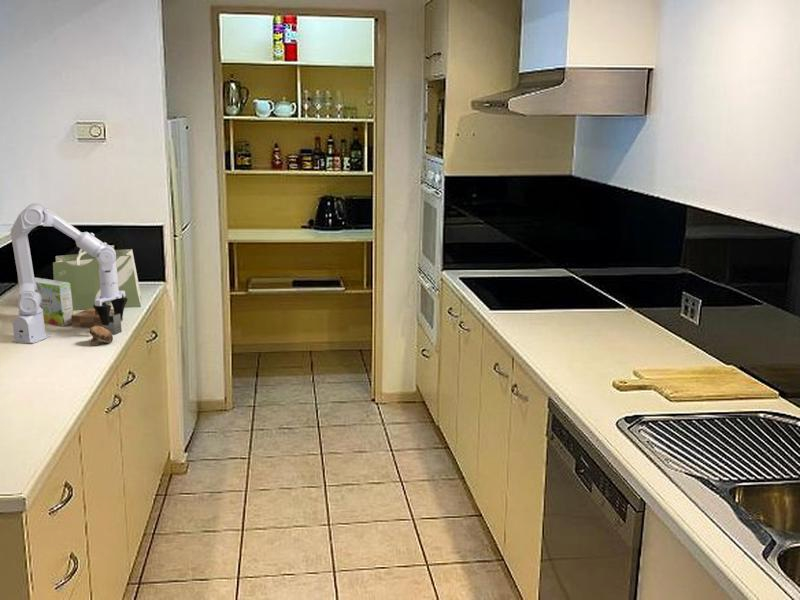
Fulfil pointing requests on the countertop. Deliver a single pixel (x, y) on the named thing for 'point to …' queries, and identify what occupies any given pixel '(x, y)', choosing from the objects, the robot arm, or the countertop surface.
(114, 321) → the square bit
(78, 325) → the socket block
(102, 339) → the mushroom
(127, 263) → the grocery bag
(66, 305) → the snack box
